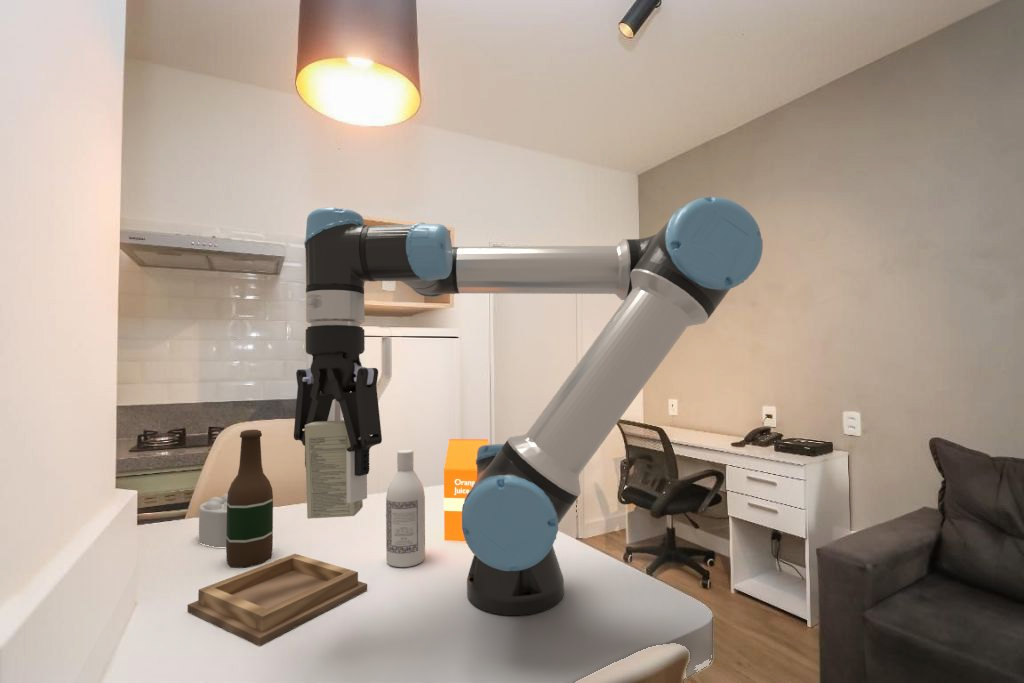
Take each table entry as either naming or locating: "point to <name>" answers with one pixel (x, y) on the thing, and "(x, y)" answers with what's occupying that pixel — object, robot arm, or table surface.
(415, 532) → the bath foam
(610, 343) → the robot arm
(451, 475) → the orange juice
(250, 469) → the beer bottle
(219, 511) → the lumpy-topped squat cylinder
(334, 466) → the skincare box
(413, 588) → the table surface
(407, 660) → the table surface
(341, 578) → the wooden tray
